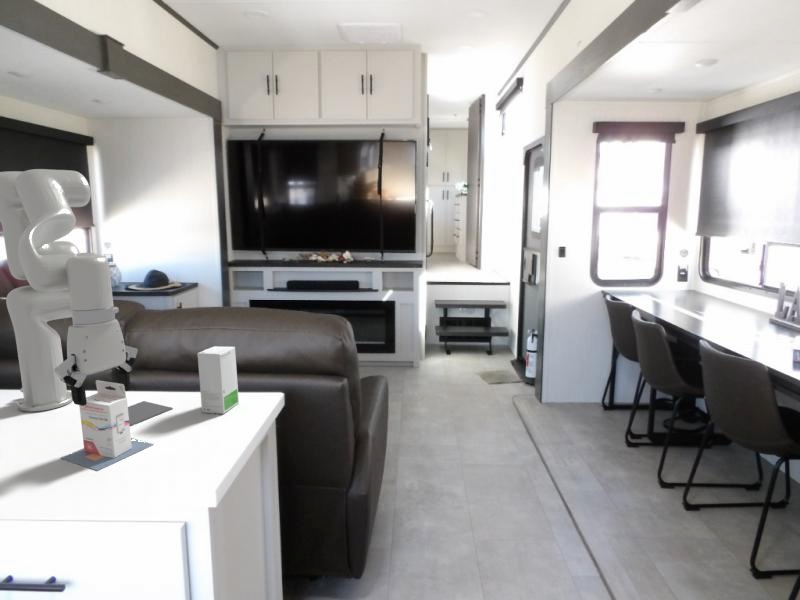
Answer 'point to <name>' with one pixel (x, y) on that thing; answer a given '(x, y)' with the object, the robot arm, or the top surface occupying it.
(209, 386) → the skincare box
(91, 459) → the tile
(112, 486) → the top surface
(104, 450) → the ink cartridge box
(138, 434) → the top surface
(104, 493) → the top surface
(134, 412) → the rubber mat
